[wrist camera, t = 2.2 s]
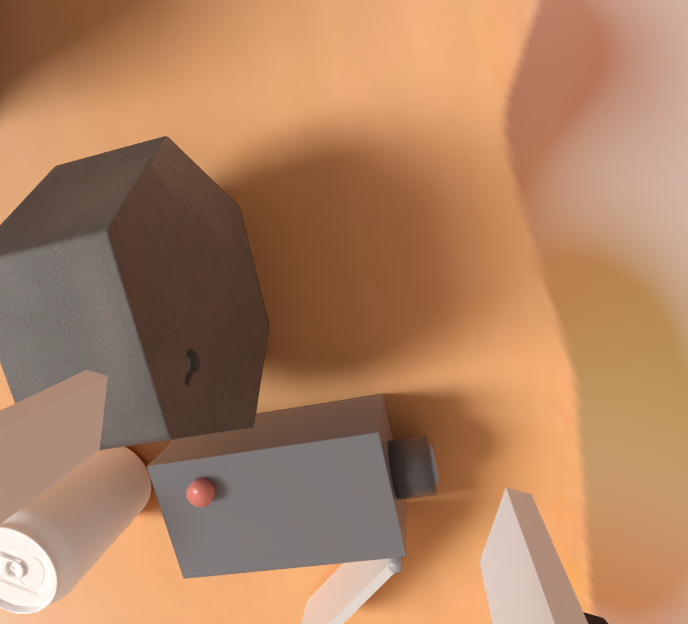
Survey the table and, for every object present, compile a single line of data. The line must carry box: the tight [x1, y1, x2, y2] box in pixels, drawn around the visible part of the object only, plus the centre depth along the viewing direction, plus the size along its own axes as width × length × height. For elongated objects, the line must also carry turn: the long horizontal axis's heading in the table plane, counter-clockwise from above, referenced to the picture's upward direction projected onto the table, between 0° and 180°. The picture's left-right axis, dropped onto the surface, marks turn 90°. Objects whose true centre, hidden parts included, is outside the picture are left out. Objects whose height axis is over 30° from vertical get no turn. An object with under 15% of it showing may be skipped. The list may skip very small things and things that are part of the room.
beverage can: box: [0, 447, 151, 614], centre depth 38 cm, size 8×8×12 cm
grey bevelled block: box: [0, 136, 269, 450], centre depth 30 cm, size 17×8×21 cm
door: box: [301, 557, 402, 624], centre depth 39 cm, size 14×2×7 cm, turn 143°
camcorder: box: [147, 394, 439, 579], centre depth 37 cm, size 21×10×8 cm, turn 103°
